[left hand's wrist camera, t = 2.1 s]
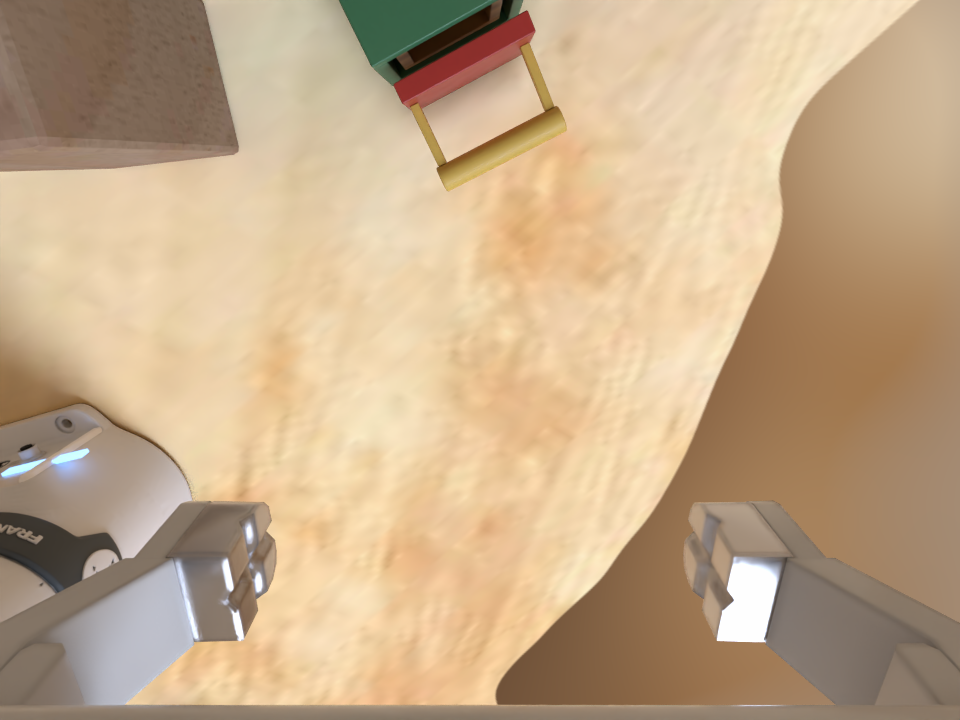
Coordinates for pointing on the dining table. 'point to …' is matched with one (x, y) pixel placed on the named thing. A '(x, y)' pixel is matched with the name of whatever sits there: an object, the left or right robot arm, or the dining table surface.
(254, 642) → the dining table surface
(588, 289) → the dining table surface
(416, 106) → the drawer
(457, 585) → the dining table surface
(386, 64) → the cabinet
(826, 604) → the left robot arm
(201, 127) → the wooden block
